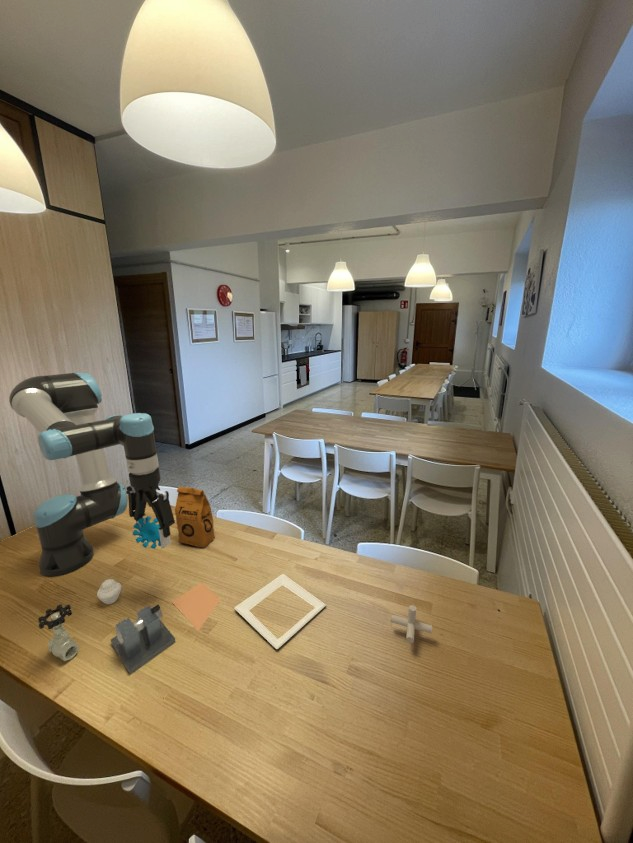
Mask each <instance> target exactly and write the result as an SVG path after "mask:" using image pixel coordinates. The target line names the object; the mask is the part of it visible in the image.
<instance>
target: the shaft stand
mask: <svg viewBox="0 0 633 843" xmlns="http://www.w3.org/2000/svg"><path fill="white" fill-rule="evenodd" d="M136 615H137V616H136V617H137V619H136V620H135V621H134V620H133V621H132V620H131V619H130V617H126V618H125V619H123V620H121V621H120V622H118V623H116V624H115V630H116V631H115V632H116V633H115V636H114V637H112V638H110V644H111V645H112V648H113V649H114V651H115V653H116V654H117V655H118V658H119V659H120V661H121V662H122V664H123V665H124V667H125V669H126V670H127V672H128V674H129V675H132V674H134V673H135V672H136V671H137V670H139V669H141V668H142V666H145V664H147V663H148V662H150V661H152V659H154V658H155V657H157V656H158V655H159V654H161V653H162V652H164V651H165V650H167V649H168V648H169V647H170V646H172V645H173V644H175V643H176V637H175V636H174V635H173V634H172V632H171V631H170V630H169V628H167V626H166V625H165V624H164V623H163V621H162V619H163V618H164V614H163V612H162V609H161V606H160V604H156V605H155V606H153V607H151V606H150V605H147V606H145V607H143V608H141V609H140V610H138V611H136Z"/></svg>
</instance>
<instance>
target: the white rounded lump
mask: <svg viewBox="0 0 633 843" xmlns="http://www.w3.org/2000/svg"><path fill="white" fill-rule="evenodd" d="M121 591H122V584H121V583H120V582H118V581H116V580H115V579H113V578H107V579H106V580H104V581H103V582H102V583H101V584H100V587H99V589H98V590H97V593H96V595H97V598H98V599H99V601H101V602H102V603H104V604H105V605H111V604H114V603H115V602H116V601H117V600H118V599H119V597H120V595H121V594H120V593H121Z"/></svg>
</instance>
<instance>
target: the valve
mask: <svg viewBox="0 0 633 843" xmlns="http://www.w3.org/2000/svg"><path fill="white" fill-rule="evenodd" d="M72 614H73V612H72V608H71V604H67V605H65V606H64V607H63V605H62V604H58V605H57V606H56V607H55V608H54V609H51V608H49V609H46V610H45V615H41V616H39V617H38V618H37V621H38V627H39V629H40V630H43V629H44V628H45V626H47V630H51V629H52V630H53V633H54V635H53V636H52V638H51V639H50V640H49V641H48V643H47V648H48V651H49V652H51V653H52V654H53V656H55V657H56V658H59V659H61V660H62V661H64V662H67V661H68V660H72V659H73V658H74V657H75V656H76V654H78V652H79V650H80V648H79V644H78V642H76V641H74V639H73V638H72V637H70V636H69V632H68V630H67V629H65V628H64V623H65V622H66V618H65V617H66V616H68V617H71V616H72ZM49 617H50V620H48V618H49Z"/></svg>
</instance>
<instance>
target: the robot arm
mask: <svg viewBox="0 0 633 843" xmlns="http://www.w3.org/2000/svg"><path fill="white" fill-rule="evenodd" d="M102 396H103V395H102V392H101V389H100V386H99V384H98V382H97V380H96V379H95V378H94V377H93V376H92V375H91V374H90V373H87V372H70V373H60V374H58V373H57V374H52V375H51V374H49V375H36V376H32V377H29V378H25V379H24V380H22V381H20V382H19V383H18V384H16V385H15V386H14V387H13V388H12V391H11V392H10V394H9V397H8V398H9V406H10V407H11V409H12V410H13V411H14V412H15V413H16V414H17V415H19V416H20V417H23V418H25V419H26V420H27V421H28V422H29V423H30V424H31V426H32V427H33V428H34V429H35V430H36V431H37V432H38V436H37V442H38V445H39V450H40V452H41V454H42V456H43V457H44V458H45V460H48V461H56V460H61V459H68V458H70V457H73V456H75V458H76V462H77V466H78V469H79V474H80V477H81V480H82V486H81V487H80V489H79V494H80V495H78V496H75V495H74V494H71V493H69V494H67V493H66V494H64V495H63V494H60V495H57V496H54V497H51V498H50V499H47V500H45V501H44V502H42V503H41V504H40V505H39V506H37V507H36V508H35V510H34V511H33V519H34V526H35V527H36V532H37V536H38V539H39V544H40V547H41V553H40V554H41V555H40V560H39V563H38V564H39V565H38V567H39V571H40V573H41V575H42V576H44V577H47V578H55V577H56V578H57V577H61V576H65V575H69V574H71V573H73V572H76V571H78V570H79V569H82V568H83V567H85V566H86V565H87V564H89V562H90V561H92V560H93V557H94V555H95V552H94V549H93V546H92V545H91V543H90V542H89V540H88V539H87V537H85V535H84V530H86V529H88V528H90V527H93V526H95V525H98V524H101V523H104V522H106V521H108V520H111V519H114V518H116V517H119V516H120V515H122V514H124V513H125V512H126V510H127V508H128V515H129V517H130V518H133V519H134V521H135V522H136V523H138V524H139V526H140V527H141V524H140V523H139V522H138V520H139V519H140V518H144V521H143V523H144V524H146V517H147V516H146V508H147V505H148V506H149V508H151V509H152V511H153V514H154V516H155V518H157V520H158V522H157V523H158V524H159V525H160V527H159V528H158V529H159V535H160V542H161V546H160V547H161V549H163V550H164V549H165V548H167V547H168V546H169V545H171V543H172V541H171V528H170V527H171V526H172V525H174V524H175V521H176V519H175V517H174V514H173V510H172V506H171V503H170V499H169V498H170V494H169V491H167V490H165V491H162V490H161V488H160V486H159V483H160V481H161V473H160V468H159V466H160V463H159V458H158V453H157V447H156V437H155V432H154V431H155V427H154V424H153V420H152V416H151V415H149V414H148V413H145V412H142V413H141V412H136V413H135V412H134V413H130V414H129V413H128V414H125V415H120V414H119V415H118V414H115V415H110V416H108V417H106V418H105V419H103V420H97V419H96V415H95V414H96V412H97V411H98V410H99V407H98V405H99V404H101V403H102V399H103V398H102ZM119 445H121V446H123V449H124V450H123V451H124V454H125V459H126V467H127V472H129V473H128V479H129V484H130V485H128V486H127V487H126V489H125V485H124V484H122V483H121V482H118V481H117V478H115V477H112V476H111V471H110V469H109V465H108V460H107V456H106V453H105V449H106V448H109V447H110V448H111V447H115V446H119ZM136 523H135V524H136ZM137 531H138V532H140V531H139V530H138V529H137ZM138 537H141V536H139V535H138ZM141 538H142V537H141Z"/></svg>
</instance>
